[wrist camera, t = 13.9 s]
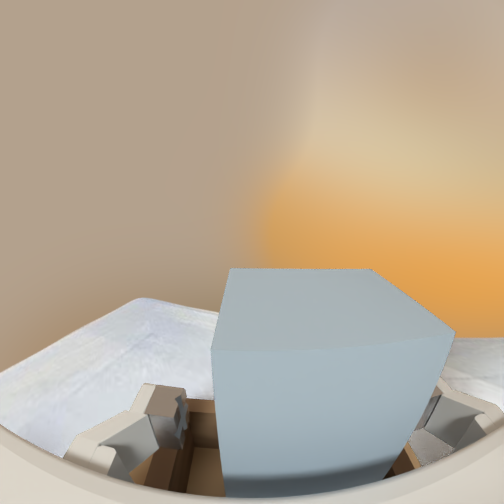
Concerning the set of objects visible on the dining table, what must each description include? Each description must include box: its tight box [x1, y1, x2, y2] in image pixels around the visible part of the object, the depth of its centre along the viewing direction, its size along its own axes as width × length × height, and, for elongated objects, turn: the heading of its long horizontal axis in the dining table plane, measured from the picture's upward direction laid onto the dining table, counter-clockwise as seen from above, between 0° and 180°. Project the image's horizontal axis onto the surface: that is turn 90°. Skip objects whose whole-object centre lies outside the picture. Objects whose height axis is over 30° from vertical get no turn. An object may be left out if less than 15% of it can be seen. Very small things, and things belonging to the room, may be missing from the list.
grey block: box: [211, 268, 456, 498], centre depth 8 cm, size 5×5×14 cm
